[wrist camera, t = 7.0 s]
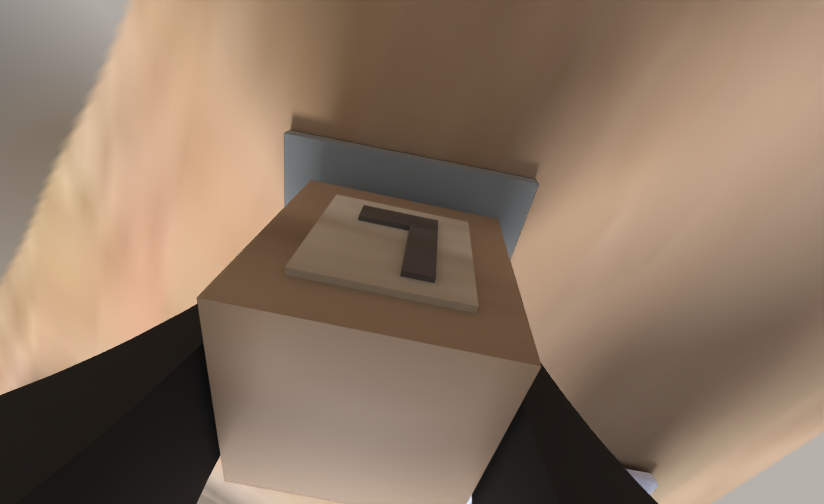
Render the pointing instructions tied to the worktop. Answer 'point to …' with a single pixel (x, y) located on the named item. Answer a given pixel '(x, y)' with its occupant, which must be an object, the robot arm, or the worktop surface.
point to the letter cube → (366, 350)
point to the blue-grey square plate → (408, 179)
